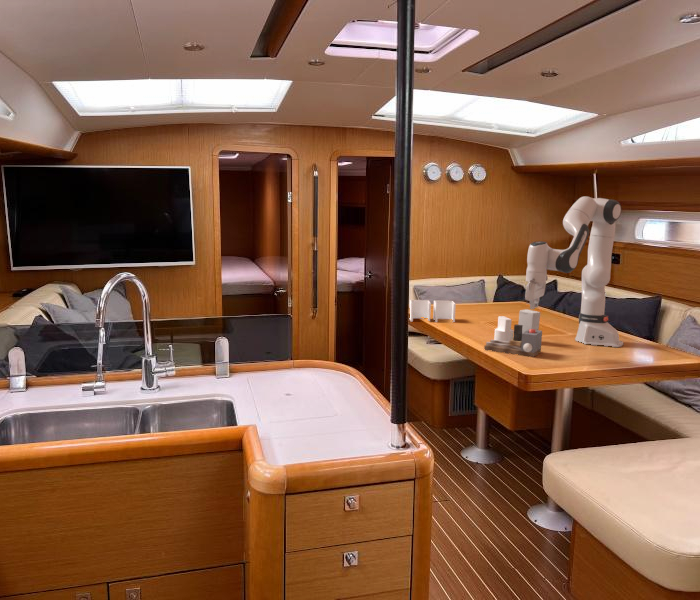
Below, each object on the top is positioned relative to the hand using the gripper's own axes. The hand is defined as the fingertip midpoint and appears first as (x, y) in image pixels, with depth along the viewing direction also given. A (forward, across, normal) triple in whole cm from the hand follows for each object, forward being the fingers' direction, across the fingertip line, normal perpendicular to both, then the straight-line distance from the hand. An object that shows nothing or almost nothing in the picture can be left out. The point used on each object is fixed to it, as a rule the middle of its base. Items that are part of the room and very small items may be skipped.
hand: (533, 308), depth 283 cm
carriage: (+18, 0, +6) cm, 19 cm away
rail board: (+21, 0, +8) cm, 23 cm away
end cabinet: (+21, 0, 0) cm, 21 cm away
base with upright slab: (+21, +17, +18) cm, 33 cm away
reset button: (+13, 0, 0) cm, 13 cm away
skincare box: (+21, +24, +8) cm, 33 cm away
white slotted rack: (+22, +47, +69) cm, 87 cm away
